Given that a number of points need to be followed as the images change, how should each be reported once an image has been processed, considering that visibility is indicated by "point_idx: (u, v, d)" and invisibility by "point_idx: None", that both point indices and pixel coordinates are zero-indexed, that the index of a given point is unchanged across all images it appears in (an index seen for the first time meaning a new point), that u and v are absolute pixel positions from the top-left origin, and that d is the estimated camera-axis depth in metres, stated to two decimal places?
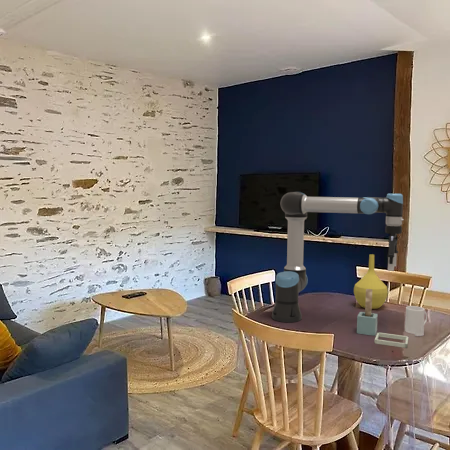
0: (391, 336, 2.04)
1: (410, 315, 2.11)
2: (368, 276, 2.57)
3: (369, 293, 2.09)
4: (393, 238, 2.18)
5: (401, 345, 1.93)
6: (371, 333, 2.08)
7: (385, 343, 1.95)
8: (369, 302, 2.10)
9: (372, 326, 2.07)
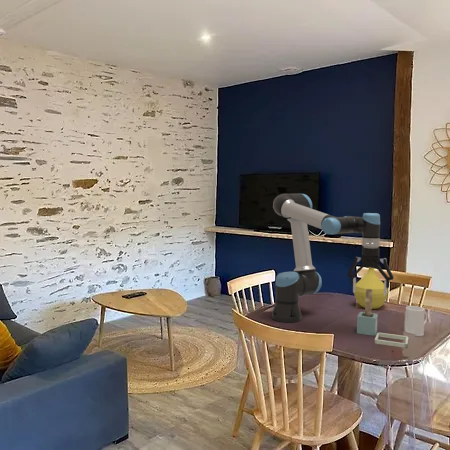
0: (391, 336, 2.04)
1: (410, 315, 2.11)
2: (368, 276, 2.57)
3: (369, 293, 2.09)
4: None
5: (401, 345, 1.93)
6: (371, 333, 2.08)
7: (385, 343, 1.95)
8: (369, 302, 2.10)
9: (372, 326, 2.07)
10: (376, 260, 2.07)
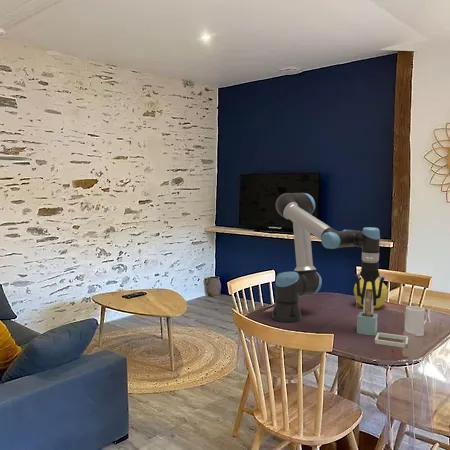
0: (391, 336, 2.04)
1: (410, 315, 2.11)
2: None
3: (369, 293, 2.09)
4: None
5: (401, 345, 1.93)
6: (371, 333, 2.08)
7: (385, 343, 1.95)
8: (369, 302, 2.10)
9: (372, 326, 2.07)
10: (375, 274, 2.08)
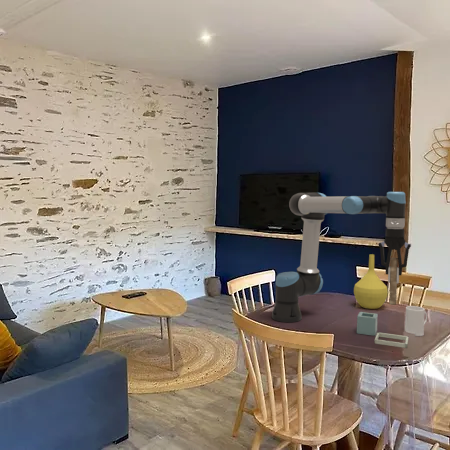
0: (391, 336, 2.04)
1: (410, 315, 2.11)
2: (368, 276, 2.57)
3: (394, 262, 1.96)
4: (379, 245, 1.99)
5: (401, 345, 1.93)
6: (371, 333, 2.08)
7: (385, 343, 1.95)
8: (394, 271, 1.96)
9: (372, 326, 2.07)
10: (401, 241, 1.94)
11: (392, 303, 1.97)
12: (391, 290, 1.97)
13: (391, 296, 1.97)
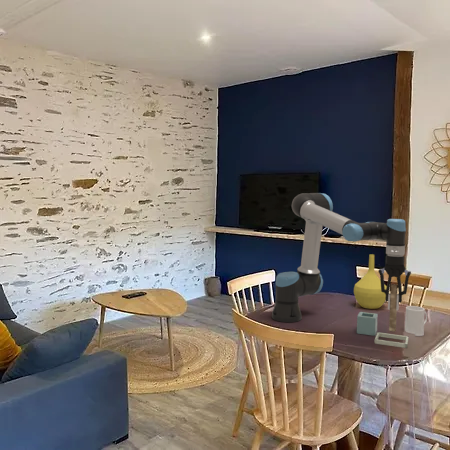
0: (391, 336, 2.04)
1: (410, 315, 2.11)
2: (368, 276, 2.57)
3: (394, 289, 1.96)
4: (379, 272, 1.99)
5: (401, 345, 1.93)
6: (371, 333, 2.08)
7: (385, 343, 1.95)
8: (394, 298, 1.96)
9: (372, 326, 2.07)
10: (401, 269, 1.95)
11: (392, 330, 1.98)
12: (391, 317, 1.98)
13: (391, 323, 1.98)
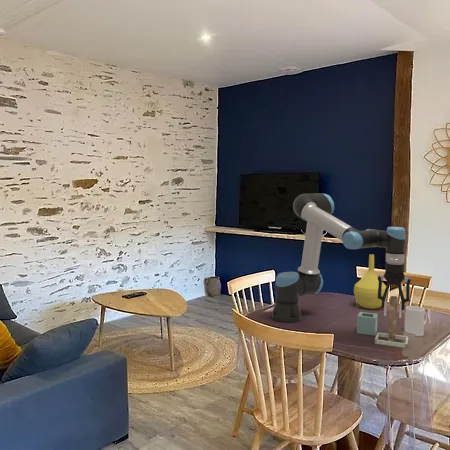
0: None
1: (410, 315, 2.11)
2: (368, 276, 2.57)
3: (394, 301, 1.97)
4: (378, 279, 1.99)
5: (401, 345, 1.93)
6: (371, 333, 2.08)
7: (385, 343, 1.95)
8: (394, 310, 1.97)
9: (372, 326, 2.07)
10: (401, 277, 1.95)
11: None
12: (390, 328, 1.98)
13: (390, 334, 1.98)
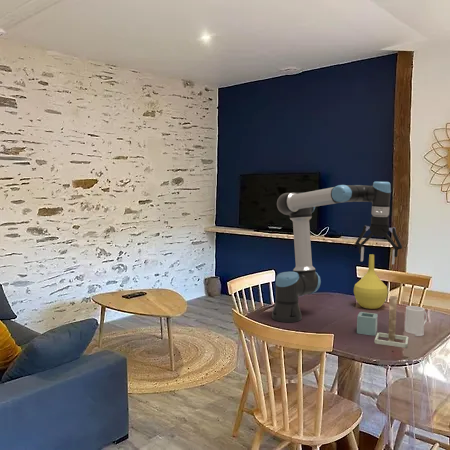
0: None
1: (410, 315, 2.11)
2: (368, 276, 2.57)
3: (393, 301, 1.97)
4: (363, 228, 2.10)
5: (401, 345, 1.93)
6: (371, 333, 2.08)
7: (385, 343, 1.95)
8: (393, 310, 1.97)
9: (372, 326, 2.07)
10: (385, 229, 2.05)
11: None
12: (390, 328, 1.98)
13: (390, 334, 1.98)
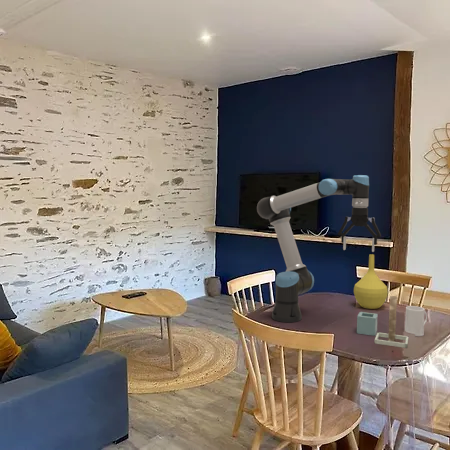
0: None
1: (410, 315, 2.11)
2: (368, 276, 2.57)
3: (393, 301, 1.97)
4: (345, 218, 2.26)
5: (401, 345, 1.93)
6: (371, 333, 2.08)
7: (385, 343, 1.95)
8: (393, 310, 1.97)
9: (372, 326, 2.07)
10: (365, 219, 2.22)
11: None
12: (390, 328, 1.98)
13: (390, 334, 1.98)
